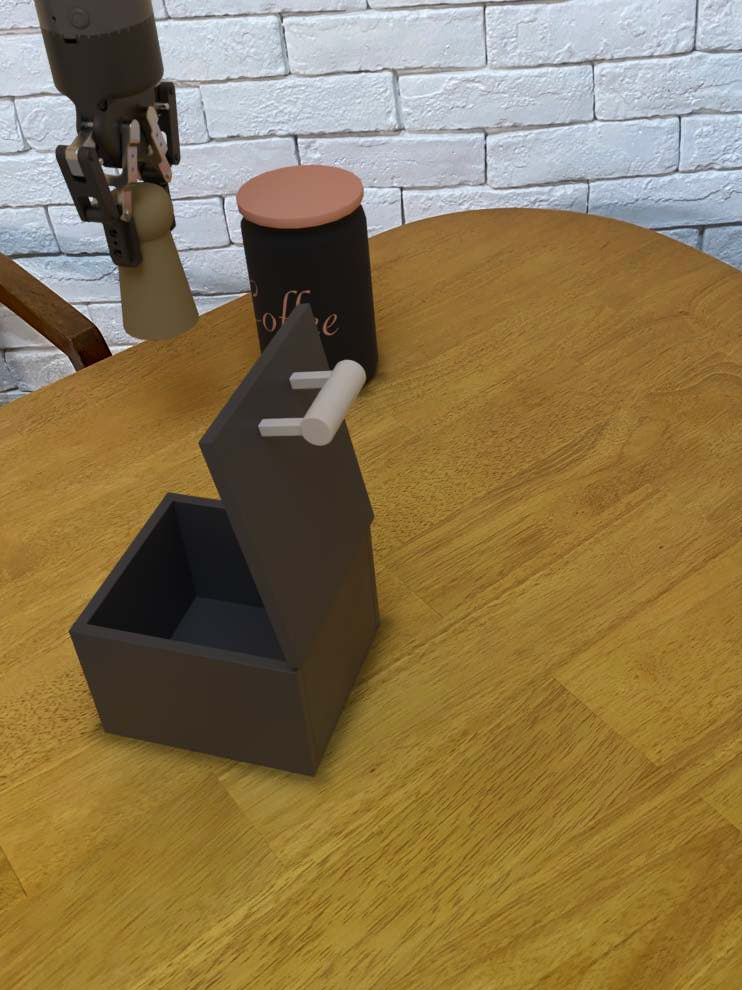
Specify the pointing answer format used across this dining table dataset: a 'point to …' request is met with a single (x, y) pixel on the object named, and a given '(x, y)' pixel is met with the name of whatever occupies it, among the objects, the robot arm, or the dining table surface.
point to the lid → (292, 479)
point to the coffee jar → (311, 257)
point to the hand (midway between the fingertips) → (145, 246)
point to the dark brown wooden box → (217, 646)
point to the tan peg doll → (155, 272)
